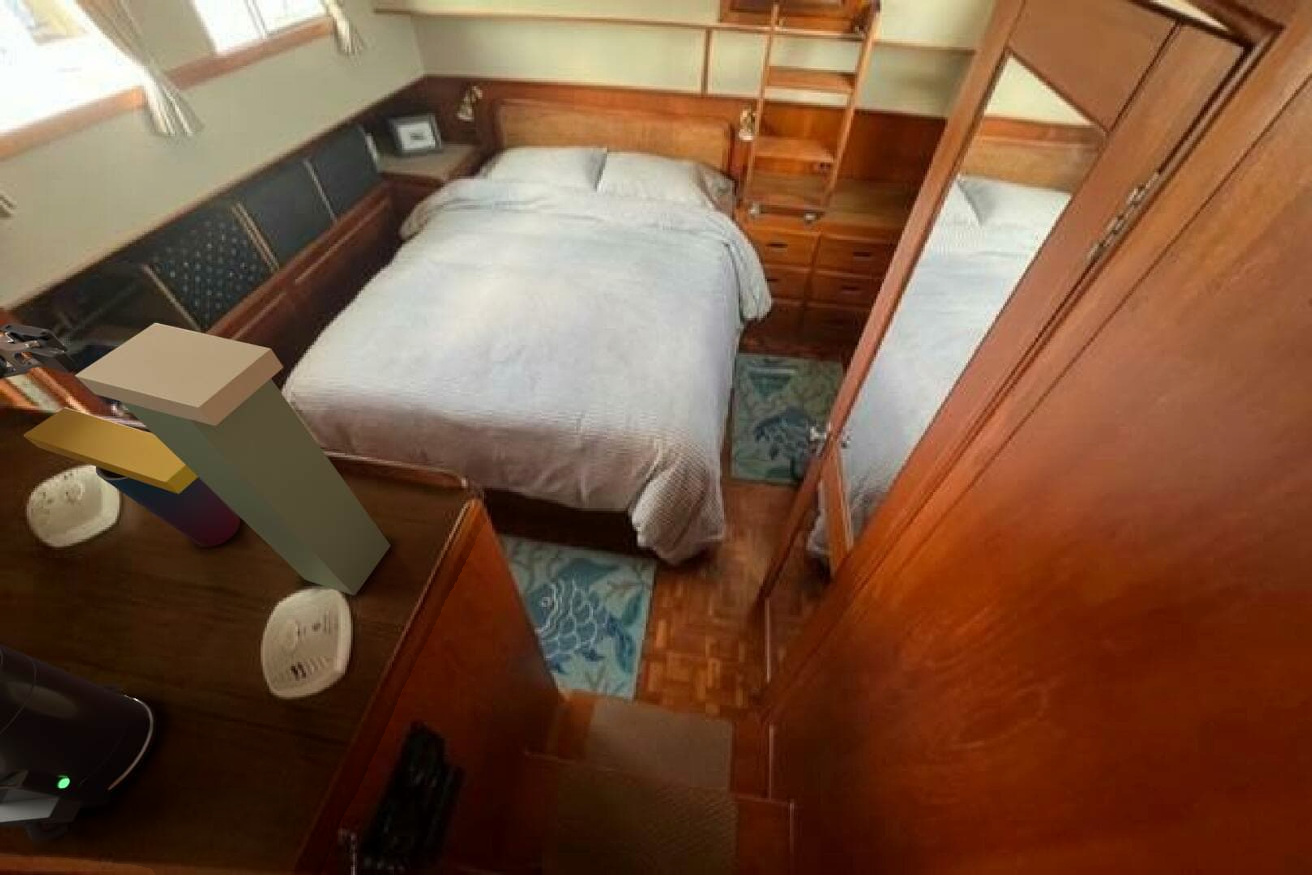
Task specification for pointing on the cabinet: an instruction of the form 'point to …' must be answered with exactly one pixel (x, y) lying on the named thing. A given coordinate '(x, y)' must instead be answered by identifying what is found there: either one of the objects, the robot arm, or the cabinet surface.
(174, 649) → the cabinet surface
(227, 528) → the cup
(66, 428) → the yellow bar
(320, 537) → the stand
